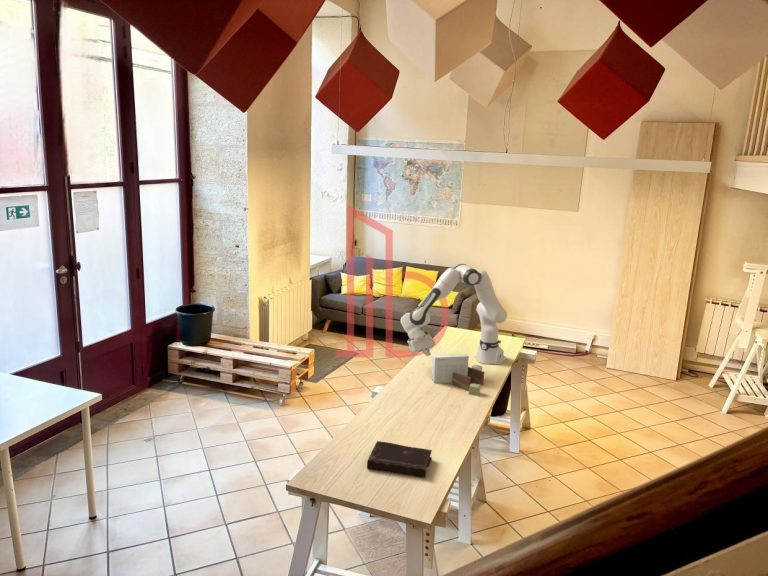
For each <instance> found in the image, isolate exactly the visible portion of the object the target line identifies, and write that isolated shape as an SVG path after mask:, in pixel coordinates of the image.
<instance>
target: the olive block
mask: <svg viewBox="0 0 768 576" xmlns="http://www.w3.org/2000/svg"><path fill="white" fill-rule="evenodd" d="M480 390H481V385H480V384H477V383H474V382H471V383H470V386H469V391H468V395H470V396H476V397H478V396H479V394H480V392H481V391H480Z"/></svg>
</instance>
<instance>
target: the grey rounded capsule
mask: <svg viewBox="0 0 768 576" xmlns="http://www.w3.org/2000/svg"><path fill="white" fill-rule="evenodd" d="M471 368H474V369H477V370H480V371H483V366H482V365H479V364H473V365H471Z"/></svg>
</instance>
